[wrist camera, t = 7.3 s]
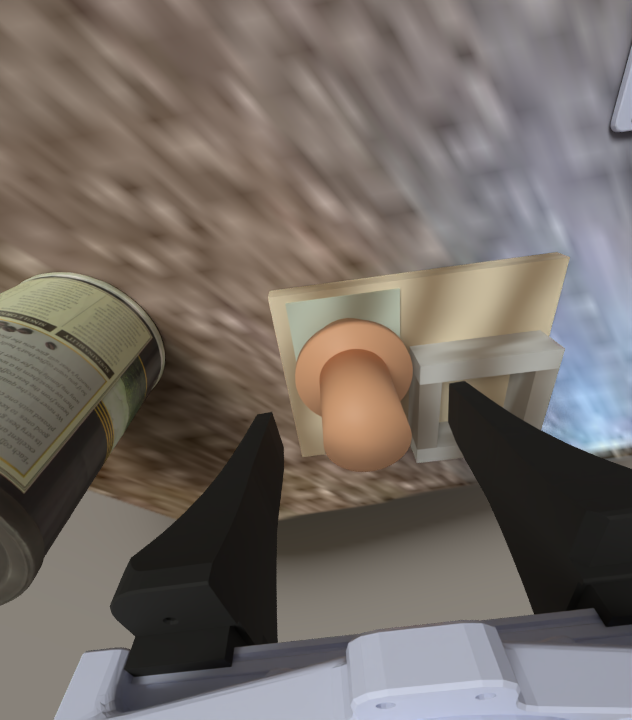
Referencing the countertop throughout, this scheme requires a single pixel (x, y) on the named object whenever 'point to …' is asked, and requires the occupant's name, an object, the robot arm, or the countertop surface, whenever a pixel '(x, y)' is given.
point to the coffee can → (63, 404)
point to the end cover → (357, 392)
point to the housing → (441, 339)
